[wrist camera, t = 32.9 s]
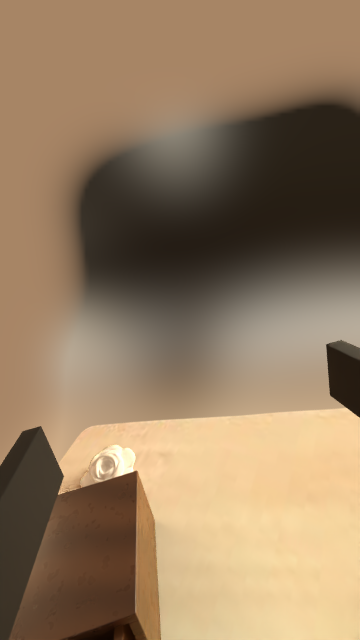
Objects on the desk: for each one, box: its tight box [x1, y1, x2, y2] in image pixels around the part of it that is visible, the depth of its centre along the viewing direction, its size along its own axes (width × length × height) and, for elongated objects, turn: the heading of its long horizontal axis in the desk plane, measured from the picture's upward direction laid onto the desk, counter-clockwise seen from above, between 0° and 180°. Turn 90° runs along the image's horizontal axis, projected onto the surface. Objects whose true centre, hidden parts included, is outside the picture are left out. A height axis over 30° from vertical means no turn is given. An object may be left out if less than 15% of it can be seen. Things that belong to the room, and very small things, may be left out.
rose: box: [80, 445, 135, 487], centre depth 47 cm, size 10×4×10 cm
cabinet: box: [9, 471, 161, 640], centre depth 29 cm, size 15×14×9 cm
